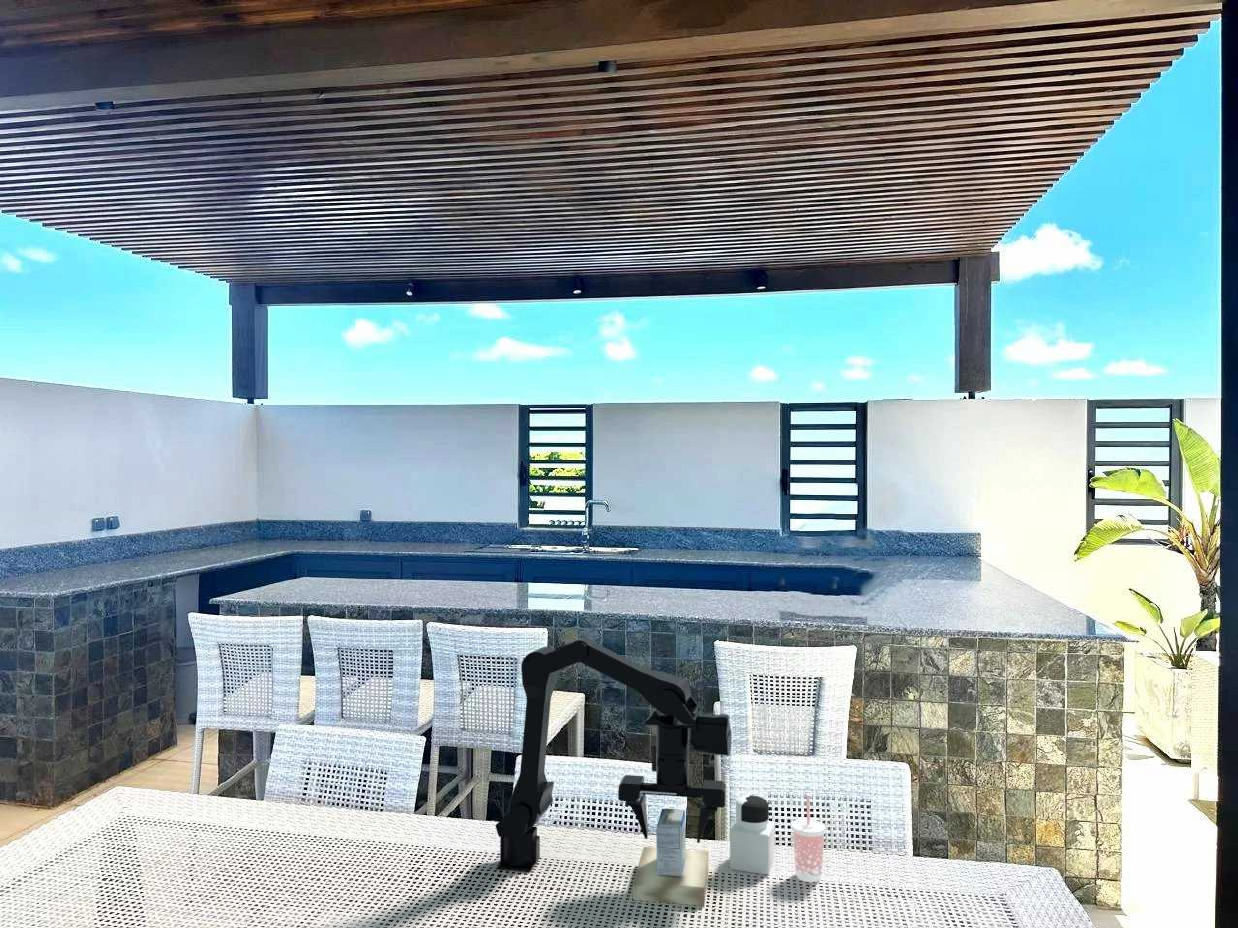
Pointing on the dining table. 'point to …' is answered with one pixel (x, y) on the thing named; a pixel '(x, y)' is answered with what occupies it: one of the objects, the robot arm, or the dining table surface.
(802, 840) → the beverage cup
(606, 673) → the robot arm
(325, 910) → the dining table surface
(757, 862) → the medicine bottle
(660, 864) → the medicine box
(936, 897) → the dining table surface
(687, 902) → the wood pedestal
